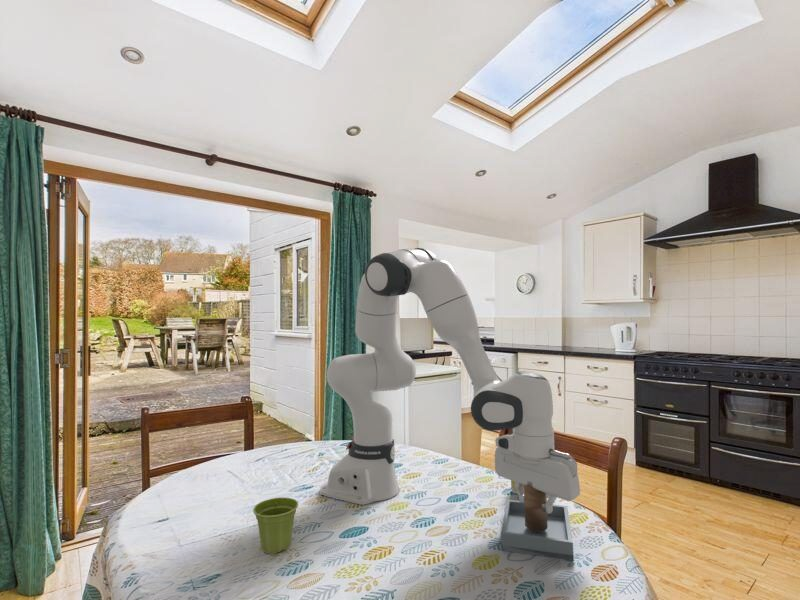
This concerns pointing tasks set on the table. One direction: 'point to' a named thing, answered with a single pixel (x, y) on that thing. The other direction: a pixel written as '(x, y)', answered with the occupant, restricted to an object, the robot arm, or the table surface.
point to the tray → (537, 533)
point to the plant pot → (275, 523)
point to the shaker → (534, 508)
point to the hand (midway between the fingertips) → (535, 506)
